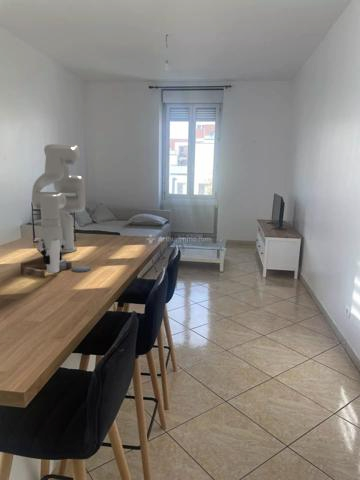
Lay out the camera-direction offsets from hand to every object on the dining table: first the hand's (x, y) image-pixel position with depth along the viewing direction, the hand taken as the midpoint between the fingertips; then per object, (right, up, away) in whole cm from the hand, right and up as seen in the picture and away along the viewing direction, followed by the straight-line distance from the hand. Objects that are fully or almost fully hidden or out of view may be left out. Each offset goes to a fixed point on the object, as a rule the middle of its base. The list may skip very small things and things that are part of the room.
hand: (52, 261), depth 158 cm
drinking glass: (0, -5, +1) cm, 5 cm away
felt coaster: (+10, -4, +10) cm, 15 cm away
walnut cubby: (-5, -5, +7) cm, 9 cm away
